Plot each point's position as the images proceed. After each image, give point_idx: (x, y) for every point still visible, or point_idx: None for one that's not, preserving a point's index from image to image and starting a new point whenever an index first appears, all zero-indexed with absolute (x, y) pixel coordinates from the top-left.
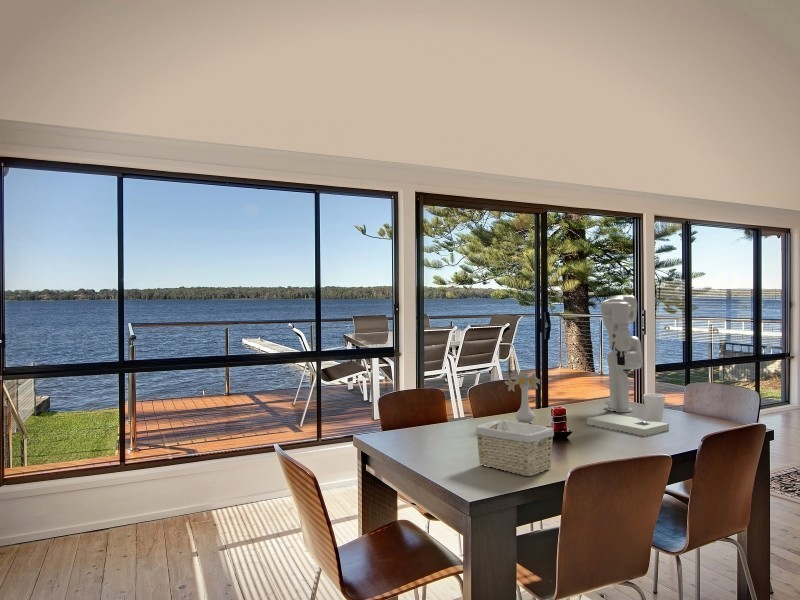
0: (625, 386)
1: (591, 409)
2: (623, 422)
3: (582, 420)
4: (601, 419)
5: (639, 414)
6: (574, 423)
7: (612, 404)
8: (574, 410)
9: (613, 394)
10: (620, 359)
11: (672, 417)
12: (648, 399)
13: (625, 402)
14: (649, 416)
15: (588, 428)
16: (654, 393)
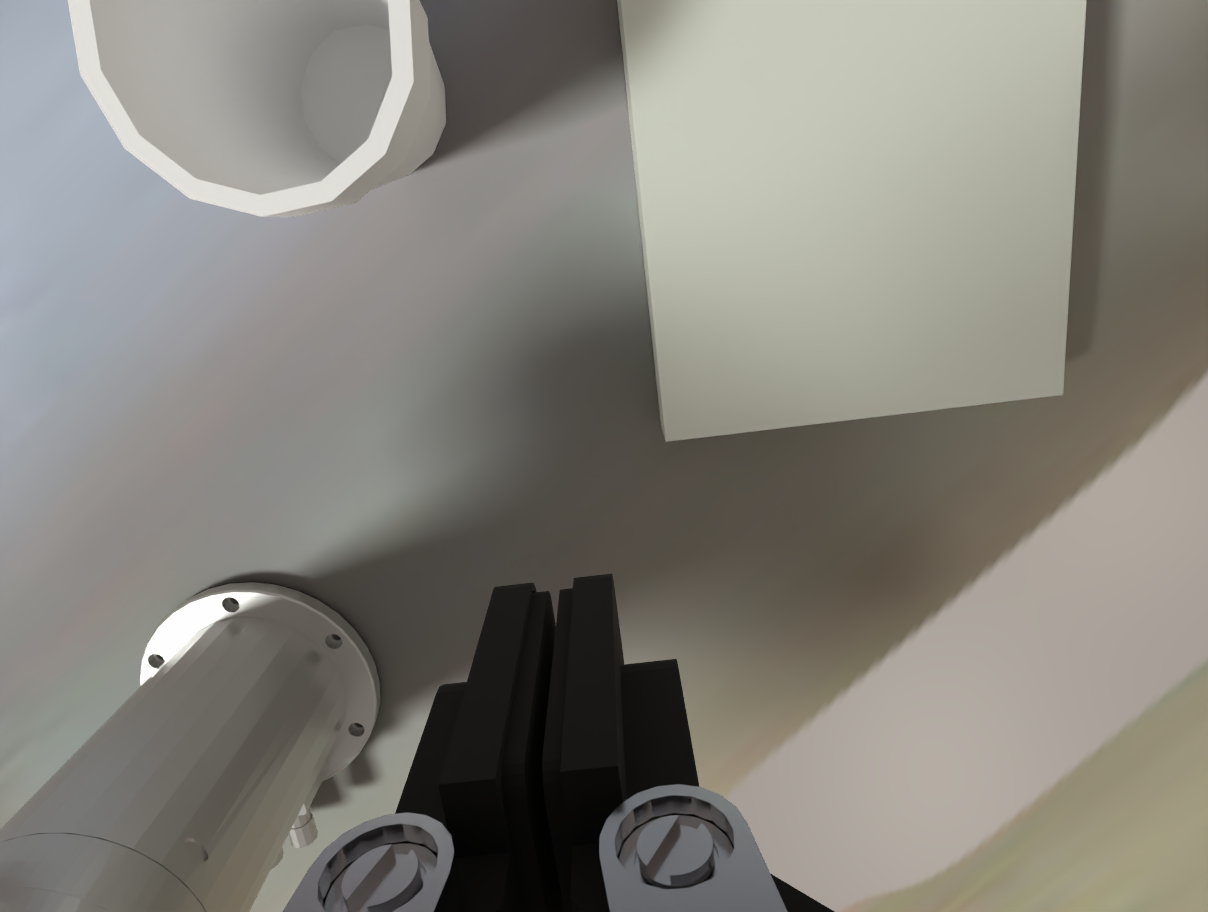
0: (111, 783)
1: None
2: (959, 6)
3: (912, 534)
4: (1007, 267)
5: (232, 461)
6: (1078, 476)
7: (332, 729)
8: None
9: (288, 792)
10: (689, 746)
11: (21, 174)
12: (421, 22)
13: (225, 658)
14: (440, 91)
15: (1169, 245)
16: (125, 146)
